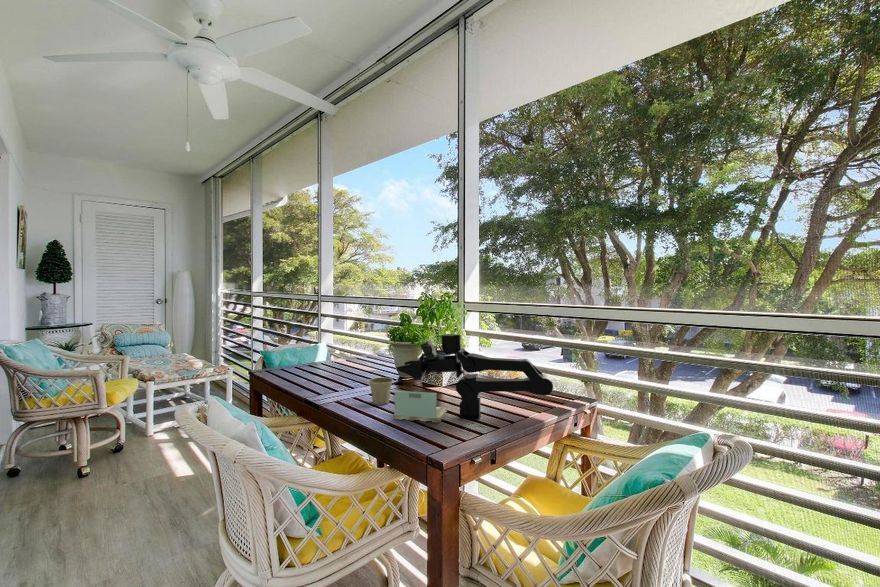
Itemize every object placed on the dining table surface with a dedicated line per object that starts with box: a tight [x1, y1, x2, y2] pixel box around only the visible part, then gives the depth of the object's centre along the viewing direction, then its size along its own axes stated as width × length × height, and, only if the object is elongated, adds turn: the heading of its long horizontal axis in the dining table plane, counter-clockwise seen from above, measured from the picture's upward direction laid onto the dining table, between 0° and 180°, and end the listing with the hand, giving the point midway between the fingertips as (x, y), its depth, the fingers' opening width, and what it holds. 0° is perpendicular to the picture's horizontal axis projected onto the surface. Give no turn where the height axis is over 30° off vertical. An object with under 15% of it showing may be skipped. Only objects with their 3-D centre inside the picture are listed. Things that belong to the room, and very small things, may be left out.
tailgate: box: [394, 390, 438, 418], centre depth 139 cm, size 14×2×8 cm, turn 77°
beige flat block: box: [392, 406, 448, 423], centre depth 146 cm, size 16×12×2 cm
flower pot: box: [368, 377, 394, 405], centre depth 161 cm, size 9×9×9 cm
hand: (400, 366), depth 150 cm, fingers open, 9 cm apart
